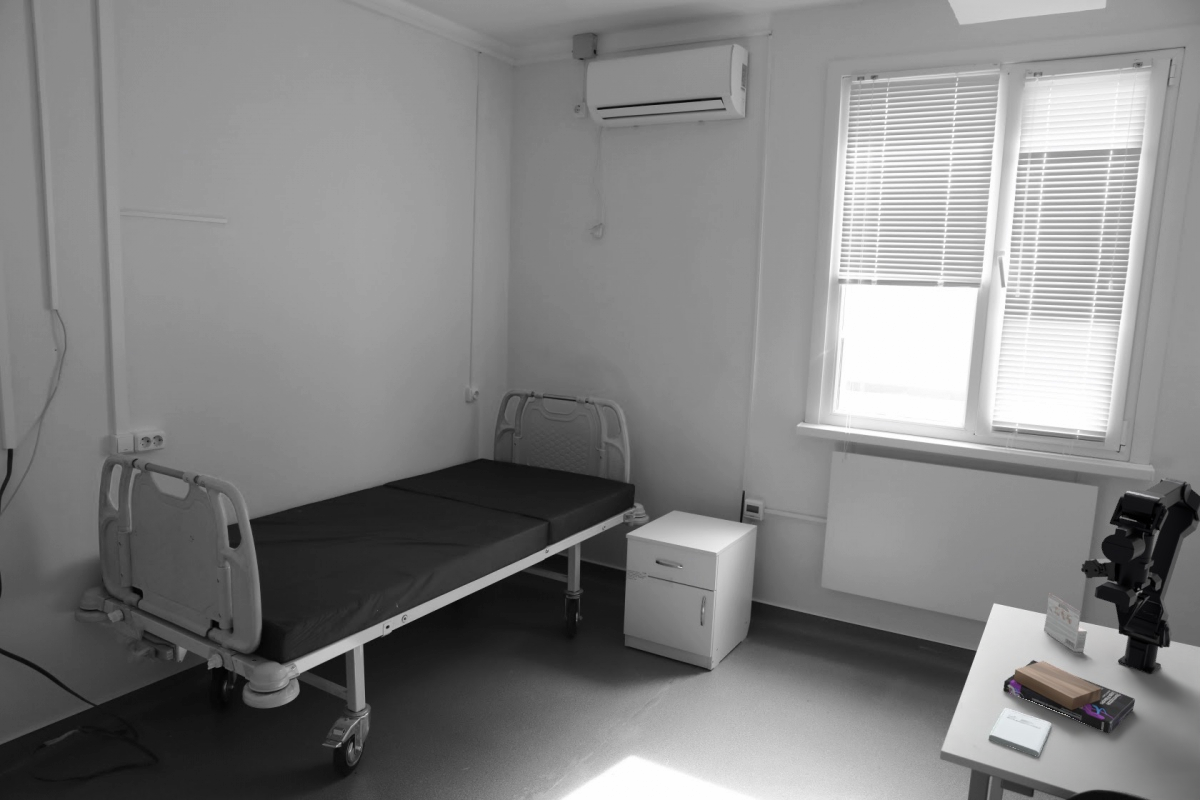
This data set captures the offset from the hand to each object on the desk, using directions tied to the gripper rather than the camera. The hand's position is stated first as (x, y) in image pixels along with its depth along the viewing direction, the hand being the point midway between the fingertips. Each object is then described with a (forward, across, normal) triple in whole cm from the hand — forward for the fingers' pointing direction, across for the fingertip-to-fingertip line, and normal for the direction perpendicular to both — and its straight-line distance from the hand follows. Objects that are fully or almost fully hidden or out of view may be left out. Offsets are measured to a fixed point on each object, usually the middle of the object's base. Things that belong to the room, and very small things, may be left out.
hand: (1122, 625), depth 169 cm
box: (+14, +15, -3) cm, 21 cm away
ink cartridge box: (+13, -13, -15) cm, 24 cm away
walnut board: (+9, +14, -3) cm, 17 cm away
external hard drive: (+14, +36, -3) cm, 38 cm away
